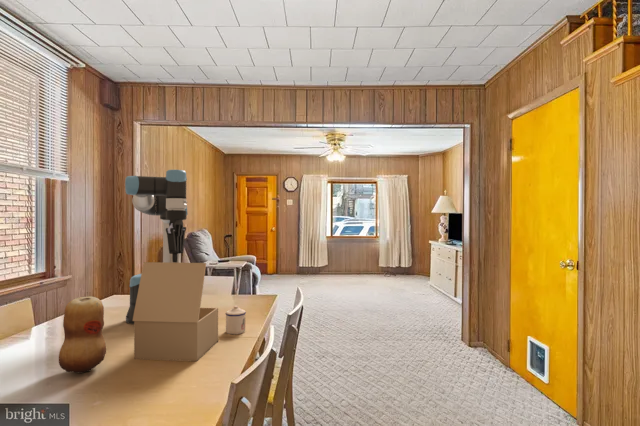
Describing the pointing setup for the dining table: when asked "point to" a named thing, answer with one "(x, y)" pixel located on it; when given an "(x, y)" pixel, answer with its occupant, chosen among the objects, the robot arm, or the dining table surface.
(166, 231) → the robot arm
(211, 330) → the carton
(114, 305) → the dining table surface
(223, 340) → the dining table surface
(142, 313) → the carton lid
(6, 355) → the dining table surface
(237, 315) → the teacup with lid
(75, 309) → the butternut squash
